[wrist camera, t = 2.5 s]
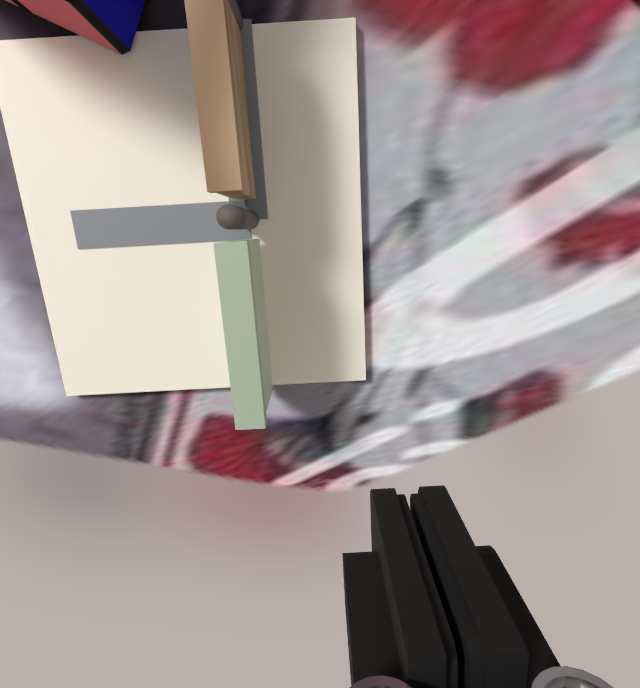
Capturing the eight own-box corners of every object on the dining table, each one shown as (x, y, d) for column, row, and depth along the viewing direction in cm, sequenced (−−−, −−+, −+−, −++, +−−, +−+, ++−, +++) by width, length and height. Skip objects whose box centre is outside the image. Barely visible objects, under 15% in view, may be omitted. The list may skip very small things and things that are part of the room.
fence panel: (236, 239, 22) (213, 242, 17) (263, 238, 22) (246, 241, 17) (252, 389, 25) (235, 429, 20) (276, 387, 25) (265, 428, 20)
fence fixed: (244, 7, 20) (215, -76, 15) (263, 228, 23) (245, 228, 17) (214, 9, 20) (175, -74, 15) (237, 230, 23) (211, 230, 17)
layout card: (354, 18, 21) (355, 11, 20) (365, 376, 26) (366, 380, 25) (-7, 41, 21) (-17, 35, 20) (72, 392, 26) (65, 396, 25)
